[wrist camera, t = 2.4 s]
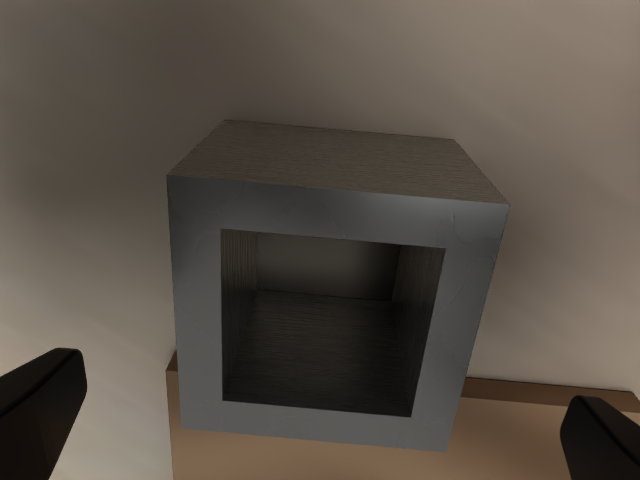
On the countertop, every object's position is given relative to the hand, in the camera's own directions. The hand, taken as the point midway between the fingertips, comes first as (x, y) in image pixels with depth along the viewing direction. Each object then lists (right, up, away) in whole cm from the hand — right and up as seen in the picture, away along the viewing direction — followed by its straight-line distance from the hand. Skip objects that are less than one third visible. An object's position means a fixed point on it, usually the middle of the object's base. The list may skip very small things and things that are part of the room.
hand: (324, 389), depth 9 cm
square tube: (0, +3, +6) cm, 7 cm away
